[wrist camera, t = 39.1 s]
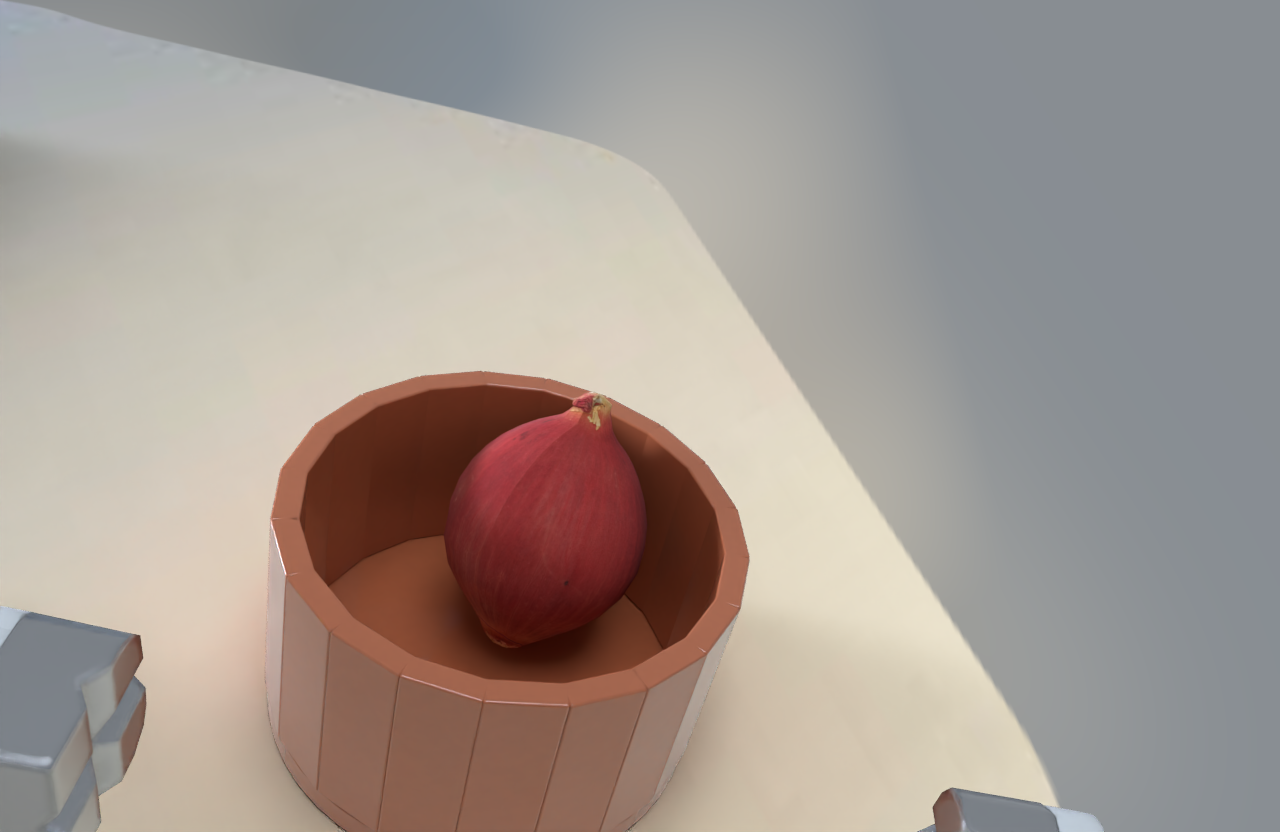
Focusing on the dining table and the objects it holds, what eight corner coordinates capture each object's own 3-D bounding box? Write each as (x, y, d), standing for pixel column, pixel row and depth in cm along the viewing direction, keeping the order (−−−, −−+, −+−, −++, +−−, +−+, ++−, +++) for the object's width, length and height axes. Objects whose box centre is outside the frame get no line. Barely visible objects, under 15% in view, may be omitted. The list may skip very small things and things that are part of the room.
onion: (418, 580, 37) (507, 345, 36) (588, 639, 37) (680, 410, 36) (396, 648, 31) (501, 370, 30) (597, 715, 32) (706, 446, 31)
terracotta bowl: (660, 551, 41) (709, 395, 37) (715, 879, 31) (790, 717, 27) (295, 522, 38) (304, 350, 34) (233, 871, 28) (234, 690, 24)
